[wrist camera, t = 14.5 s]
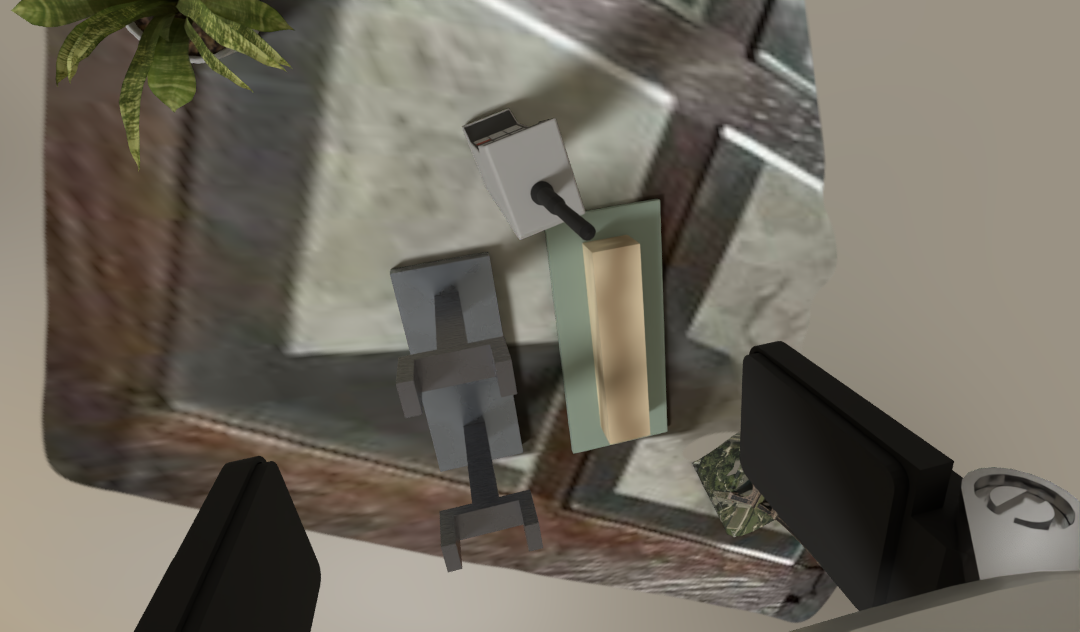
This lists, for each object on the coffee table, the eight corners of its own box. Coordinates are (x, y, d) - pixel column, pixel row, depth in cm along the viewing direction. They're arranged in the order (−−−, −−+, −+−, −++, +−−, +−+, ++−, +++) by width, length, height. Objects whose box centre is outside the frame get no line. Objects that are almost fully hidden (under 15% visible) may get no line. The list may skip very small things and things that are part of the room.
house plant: (362, 135, 39) (324, 162, 24) (155, 149, 37) (-26, 188, 22) (319, -105, 33) (236, -261, 18) (72, -105, 31) (-249, -283, 16)
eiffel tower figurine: (687, 459, 58) (756, 556, 46) (768, 413, 58) (858, 498, 46) (729, 540, 65) (800, 644, 52) (802, 499, 64) (890, 593, 52)
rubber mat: (657, 198, 45) (660, 199, 45) (664, 428, 55) (667, 431, 55) (543, 218, 44) (544, 220, 43) (571, 449, 54) (573, 453, 53)
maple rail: (627, 234, 45) (639, 243, 43) (638, 417, 53) (650, 435, 50) (582, 243, 45) (592, 252, 42) (600, 426, 53) (610, 444, 50)
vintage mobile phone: (507, 107, 40) (613, 127, 18) (529, 170, 42) (650, 261, 20) (461, 125, 40) (509, 169, 17) (486, 188, 42) (557, 299, 20)
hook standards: (487, 251, 44) (515, 323, 31) (521, 445, 52) (554, 568, 39) (390, 269, 43) (375, 350, 30) (440, 463, 51) (445, 597, 38)
